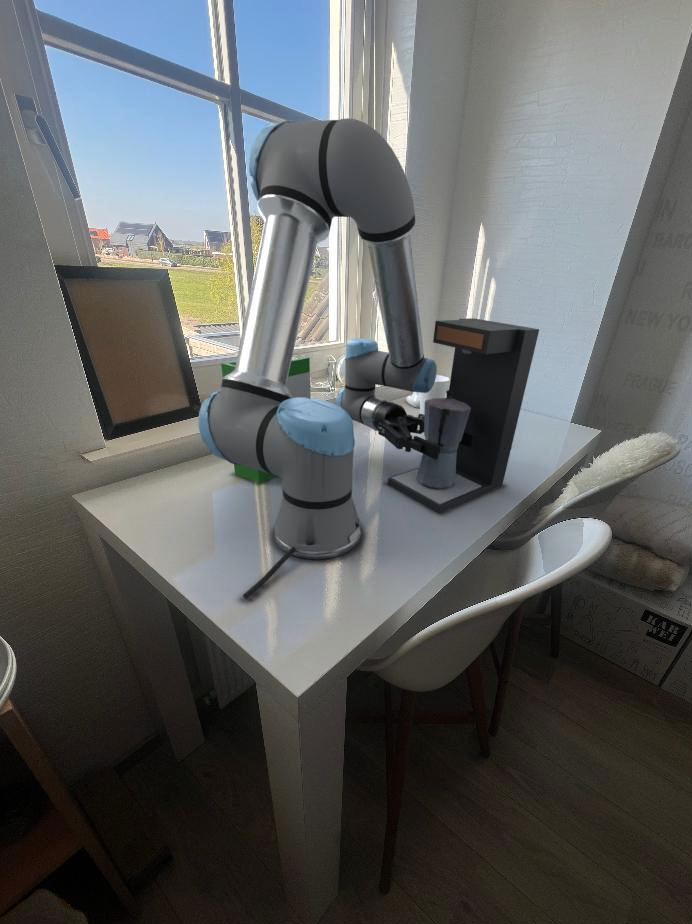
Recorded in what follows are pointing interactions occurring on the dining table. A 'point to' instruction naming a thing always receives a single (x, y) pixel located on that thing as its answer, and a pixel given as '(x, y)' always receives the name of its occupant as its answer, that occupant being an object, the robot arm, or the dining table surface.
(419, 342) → the robot arm
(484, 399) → the coffee maker
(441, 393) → the foam cup
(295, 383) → the hardback book
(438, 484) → the moka pot
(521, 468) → the dining table surface
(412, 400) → the sitting furry creature
